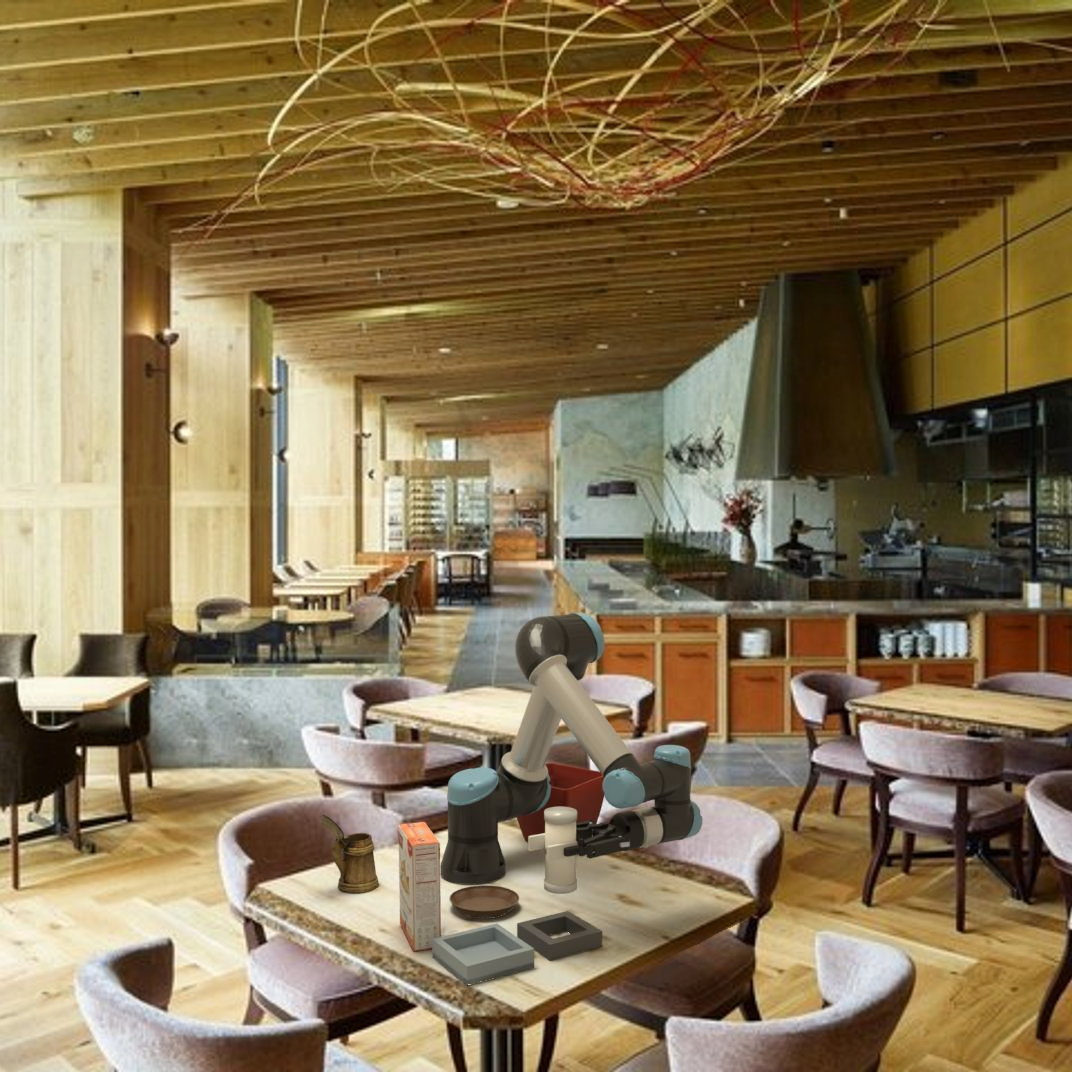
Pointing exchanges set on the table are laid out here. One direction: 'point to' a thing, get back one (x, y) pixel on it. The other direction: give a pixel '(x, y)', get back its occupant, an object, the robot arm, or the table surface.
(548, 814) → the cylinder
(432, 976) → the table surface
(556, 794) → the plant pot
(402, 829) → the cracker box
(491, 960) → the tray
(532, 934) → the dark grey square frame
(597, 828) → the robot arm
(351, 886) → the wooden mug
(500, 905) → the saucer
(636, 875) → the table surface
